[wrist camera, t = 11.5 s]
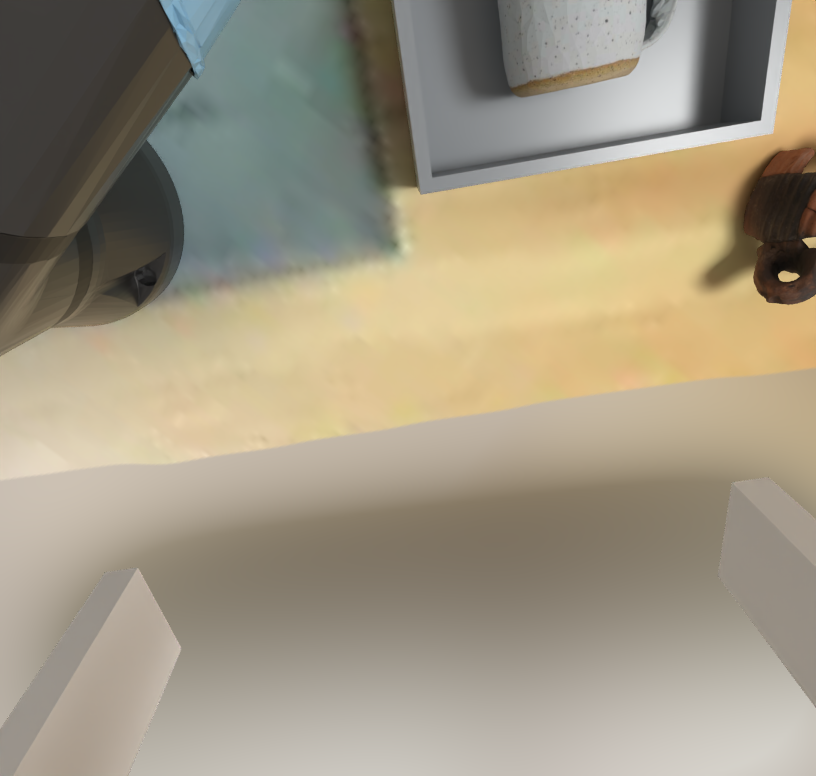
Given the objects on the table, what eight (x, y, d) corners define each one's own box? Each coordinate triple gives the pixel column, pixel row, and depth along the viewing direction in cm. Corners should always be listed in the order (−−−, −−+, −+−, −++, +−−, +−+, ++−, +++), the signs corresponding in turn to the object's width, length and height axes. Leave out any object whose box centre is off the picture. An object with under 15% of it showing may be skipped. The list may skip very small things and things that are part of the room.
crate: (417, 187, 35) (420, 194, 30) (371, -137, 27) (366, -191, 23) (722, 134, 34) (772, 133, 29) (758, -217, 26) (833, -290, 22)
